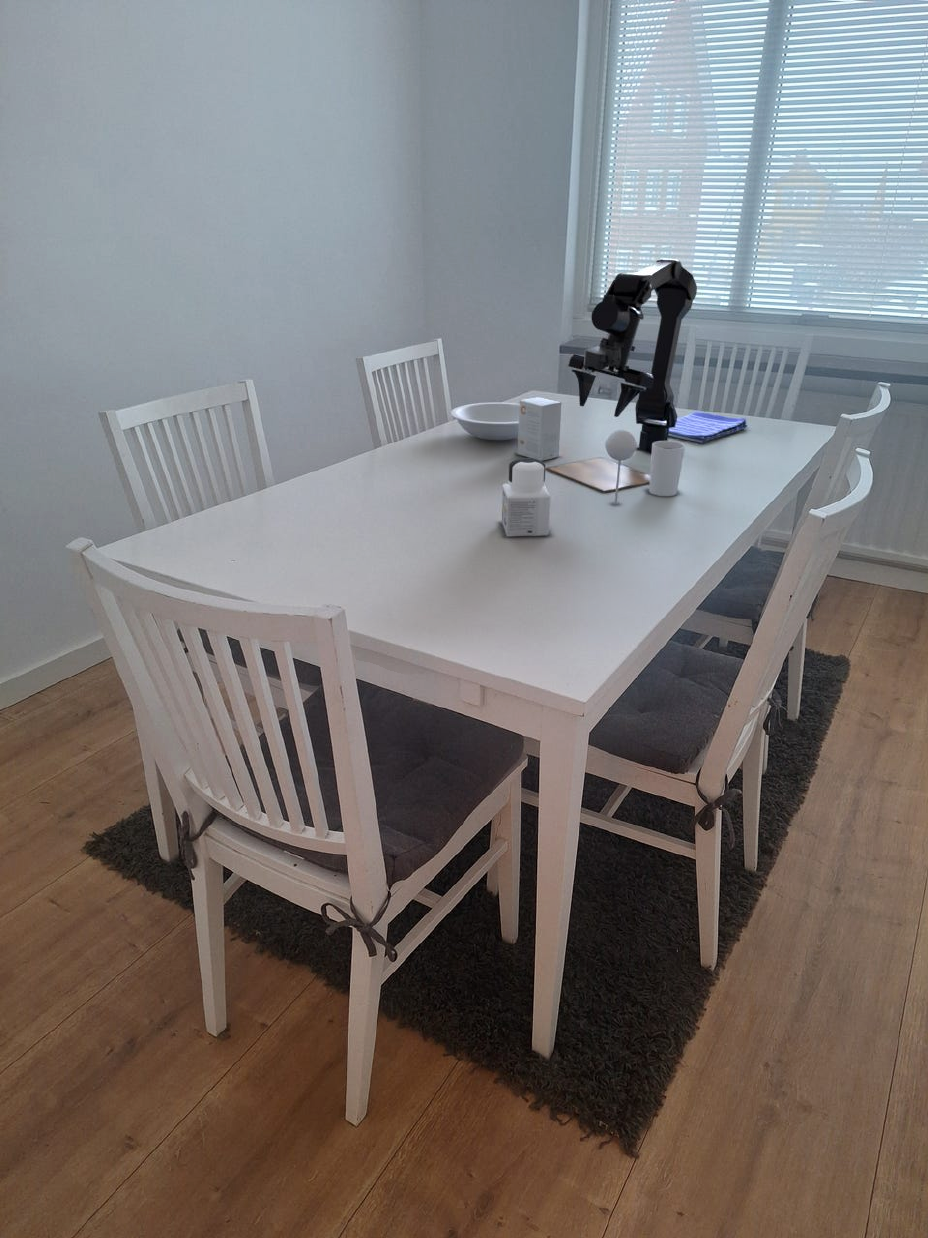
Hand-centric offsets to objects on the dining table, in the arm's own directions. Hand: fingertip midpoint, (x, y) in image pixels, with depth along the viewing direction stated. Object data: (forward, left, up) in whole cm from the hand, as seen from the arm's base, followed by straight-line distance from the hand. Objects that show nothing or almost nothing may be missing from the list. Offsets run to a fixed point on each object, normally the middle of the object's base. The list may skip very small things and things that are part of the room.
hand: (598, 411), depth 176 cm
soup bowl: (+1, -38, -14) cm, 40 cm away
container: (+34, +20, -14) cm, 42 cm away
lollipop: (+10, +18, -14) cm, 25 cm away
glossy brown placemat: (-1, +1, -14) cm, 14 cm away
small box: (+2, -19, -14) cm, 24 cm away
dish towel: (-50, -17, -14) cm, 55 cm away
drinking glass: (-4, +17, -14) cm, 23 cm away
